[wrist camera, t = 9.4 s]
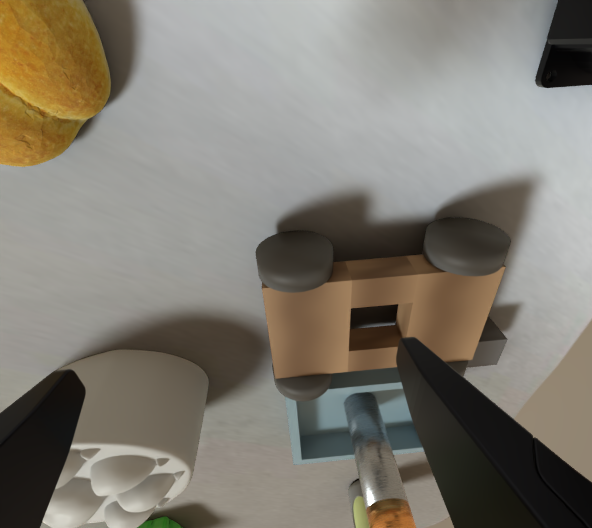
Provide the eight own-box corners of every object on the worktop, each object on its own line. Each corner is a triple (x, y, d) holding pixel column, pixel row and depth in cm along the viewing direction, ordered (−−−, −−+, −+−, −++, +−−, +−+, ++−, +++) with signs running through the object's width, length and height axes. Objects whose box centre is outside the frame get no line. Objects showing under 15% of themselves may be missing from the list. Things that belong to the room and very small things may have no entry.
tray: (437, 347, 28) (454, 377, 25) (417, 420, 34) (429, 450, 31) (283, 361, 27) (284, 393, 25) (291, 433, 33) (293, 465, 31)
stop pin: (377, 390, 29) (421, 528, 21) (375, 410, 31) (415, 545, 22) (344, 393, 29) (374, 534, 21) (343, 413, 31) (371, 550, 22)
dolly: (527, 211, 21) (582, 246, 17) (480, 341, 28) (512, 386, 24) (256, 234, 20) (254, 274, 17) (274, 361, 27) (275, 410, 23)
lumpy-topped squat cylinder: (25, 377, 26) (-67, 502, 19) (169, 329, 24) (128, 447, 17) (110, 439, 32) (63, 554, 25) (232, 404, 30) (220, 517, 23)
